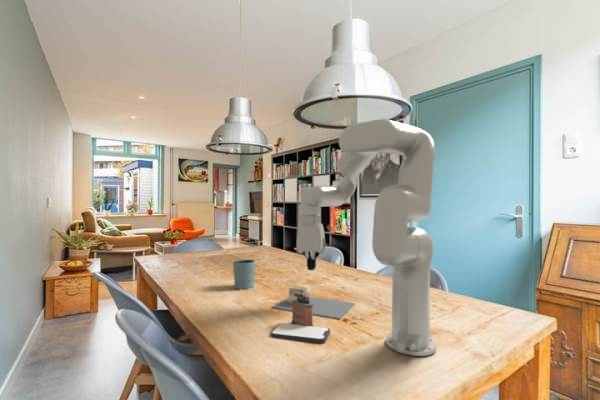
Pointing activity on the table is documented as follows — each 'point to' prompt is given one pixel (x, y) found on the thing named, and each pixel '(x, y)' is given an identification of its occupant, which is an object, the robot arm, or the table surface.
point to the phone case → (301, 333)
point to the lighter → (302, 310)
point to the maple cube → (299, 289)
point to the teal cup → (244, 273)
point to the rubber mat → (321, 307)
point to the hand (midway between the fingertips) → (311, 269)
